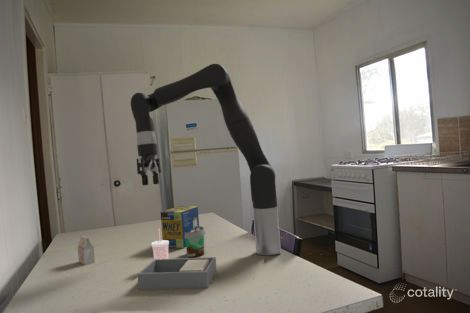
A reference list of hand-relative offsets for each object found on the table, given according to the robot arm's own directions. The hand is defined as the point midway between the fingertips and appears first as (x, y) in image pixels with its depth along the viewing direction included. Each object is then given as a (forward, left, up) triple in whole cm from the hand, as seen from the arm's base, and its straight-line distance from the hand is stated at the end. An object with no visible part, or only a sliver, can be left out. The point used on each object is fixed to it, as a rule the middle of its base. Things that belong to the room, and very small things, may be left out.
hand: (151, 184), depth 136 cm
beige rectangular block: (-23, +28, -27) cm, 46 cm away
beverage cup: (-7, +13, -29) cm, 32 cm away
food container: (-17, -1, -29) cm, 33 cm away
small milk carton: (+27, +4, -29) cm, 40 cm away
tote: (-18, +28, -28) cm, 44 cm away
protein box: (-5, -19, -29) cm, 35 cm away
